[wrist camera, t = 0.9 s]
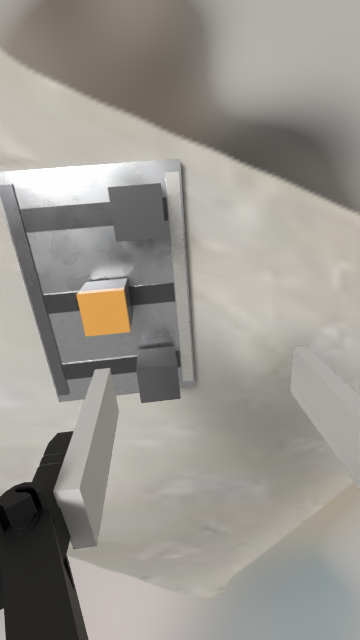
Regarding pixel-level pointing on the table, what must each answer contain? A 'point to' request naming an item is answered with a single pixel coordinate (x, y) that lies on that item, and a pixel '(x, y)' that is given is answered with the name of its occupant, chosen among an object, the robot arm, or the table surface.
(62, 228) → the panel
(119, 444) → the table surface
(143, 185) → the block
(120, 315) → the block
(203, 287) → the table surface
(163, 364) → the breaker
